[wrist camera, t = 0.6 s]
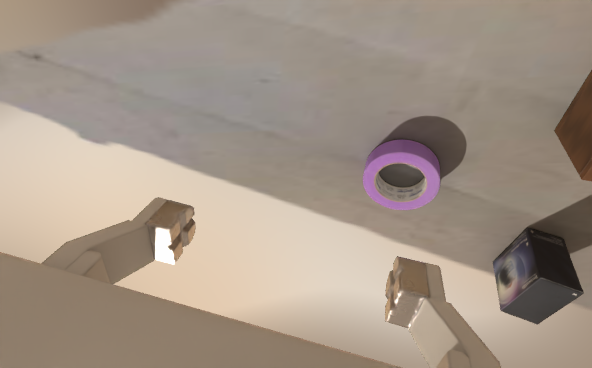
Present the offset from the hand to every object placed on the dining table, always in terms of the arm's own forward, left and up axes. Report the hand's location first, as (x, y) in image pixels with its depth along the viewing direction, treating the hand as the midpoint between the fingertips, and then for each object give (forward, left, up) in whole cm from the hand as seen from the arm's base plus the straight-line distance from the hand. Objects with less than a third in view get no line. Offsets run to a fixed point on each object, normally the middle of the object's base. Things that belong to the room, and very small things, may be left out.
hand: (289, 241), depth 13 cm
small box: (+35, +31, -39) cm, 61 cm away
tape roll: (+23, +7, -39) cm, 46 cm away
